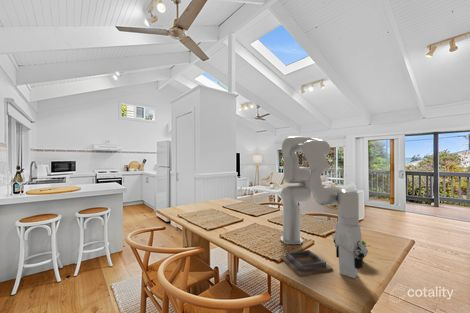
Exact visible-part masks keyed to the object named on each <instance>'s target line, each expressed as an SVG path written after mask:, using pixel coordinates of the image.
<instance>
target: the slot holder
mask: <svg viewBox="0 0 470 313" xmlns="http://www.w3.org/2000/svg"><path fill="white" fill-rule="evenodd" d="M281 257H282V258H283V260H282V261H283V262H284V263H285V264H286V265H287V266H288V267H289V268H290V269H291V270H292V271H294V273H296V274H297V275H298V276H299V277H304V276H305V277H306V276H310V275H316V274H323V273H328V272H332V271H333V270H334V268H333V267H332V266H330V265H329V264H328V263H327V261H325V260H324V259H323V258H321V257H320V256H318V255H317V254H315V253H314V252H313V251H312V250H309V249H307V250H300V251H291V252H286V253H285V255H281V256H280V258H281Z"/></svg>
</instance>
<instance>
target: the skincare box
mask: <svg viewBox="0 0 470 313" xmlns="http://www.w3.org/2000/svg"><path fill="white" fill-rule="evenodd" d="M355 258H356V256H355V254H354V253H353V252H350V251H348V250H346V249H344V248H342V246H341V245H339V258H338V271H339V272H338V273H339V274H340V275H343V276H346V277H348V278H351V279H356V278H357V276H358V275H359V274H358V269H356V268H355Z"/></svg>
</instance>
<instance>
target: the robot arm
mask: <svg viewBox="0 0 470 313" xmlns="http://www.w3.org/2000/svg"><path fill="white" fill-rule="evenodd" d="M297 152H301V153H303V155H304V157H305V160H306V162H307V164H308V166H309V168H310V169H308V168H307V167H305V166H300V164H299V163H300V161H299V160H300V159H299V157H298V155H297ZM281 153H282V157H283V179H284V181H285V183H287V184H298V185H287V186H284V187H283V188H282V189H281V191H280V192H281V194H280V195H281V200H282V230H281V233H282V235H281V236H280V238H279V239H280V241H282V242H281V243H283V242H285V243H288V244H287V245H289V244H300V245H302V244H303V243H304V239H303V238H302V237H301V209H300V206H299V204H298V203H303V202H307V201H309V200H310V199H311V197H313V198H314V200H315V202H316V203H317V204H318V205H320V206H323V207H325V206H336V205H337V220H338V221H336V224H335V233H334V234H332V240H333V244H334V246H335V248H336V249H335V255H336V256H335V257H336V258H338V259H339V245H341V246H342V248H344V249H346V250H348V251H350V252H353V253H354V254H355V256H356V258H355V268H356V269H357V270H358V269H363V265H364V264H363V262H364V260H363V261H362V258H363V259H365V257H367V254H368V253H369V249H367V247H366V248H365V247H364V245H363V244H362V240H363V237H362V231H361V226H360V218H359V216H360V215H359V213H360V212H359V202H360V201H359V200H360V199H359V193H358V192H357V191H356V190H354V189H353V190H352V189H344V188H342V187H336V186H335V187H324V185H323V183H322V179H321V176H322V174H323V173H325V172H326V171H327V170H328V169H329V167H330V163H329V161H328V160H327V158H326V157H327V156H328V155H330V153H331V146H330V144H329V143H328V141H326V140H323V139H319V138H315V137H311V136H301V135H299V136H298V135H296V136H295V135H293V136H288V137H286V138H285V139H284V140H283V141H282V143H281ZM302 242H303V243H302ZM285 243H284V244H285ZM301 243H302V244H301ZM361 250H362V252H361ZM357 252H358V253H359V255H358V253H357Z"/></svg>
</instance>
